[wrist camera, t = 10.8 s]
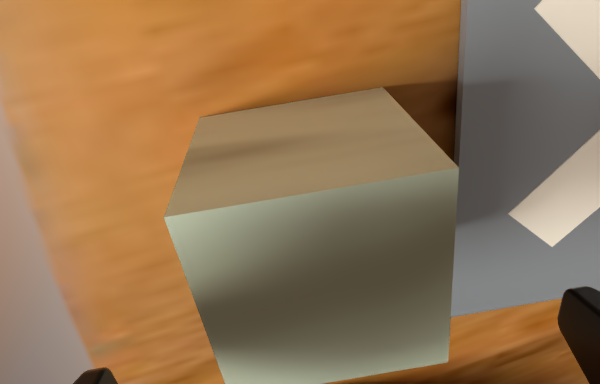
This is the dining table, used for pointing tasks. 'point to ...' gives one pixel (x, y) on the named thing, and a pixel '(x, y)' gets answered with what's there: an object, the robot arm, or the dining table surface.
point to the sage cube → (318, 239)
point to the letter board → (526, 152)
